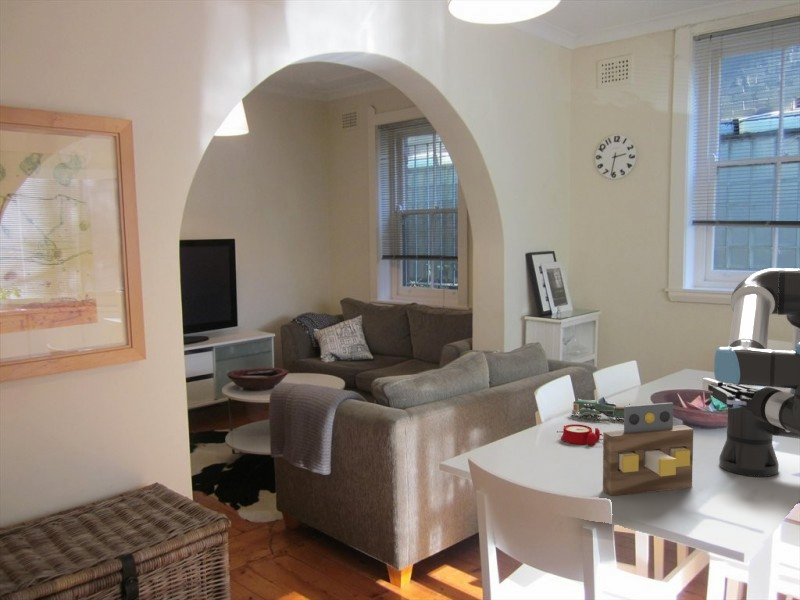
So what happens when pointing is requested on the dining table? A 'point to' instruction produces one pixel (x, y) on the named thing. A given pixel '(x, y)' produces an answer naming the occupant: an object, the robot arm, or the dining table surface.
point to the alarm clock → (580, 434)
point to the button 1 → (628, 461)
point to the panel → (644, 477)
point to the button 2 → (680, 456)
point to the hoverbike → (597, 408)
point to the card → (648, 417)
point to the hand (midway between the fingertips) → (705, 383)
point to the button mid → (659, 462)
